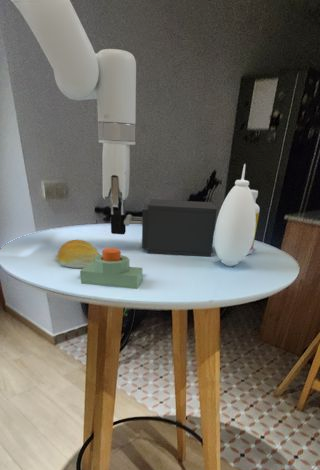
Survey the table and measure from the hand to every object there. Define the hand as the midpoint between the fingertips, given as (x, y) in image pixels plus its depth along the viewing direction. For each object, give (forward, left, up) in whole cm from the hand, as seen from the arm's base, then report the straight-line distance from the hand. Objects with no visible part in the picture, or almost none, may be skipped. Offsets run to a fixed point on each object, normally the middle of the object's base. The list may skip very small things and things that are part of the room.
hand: (118, 233), depth 85 cm
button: (+5, -26, +1) cm, 27 cm away
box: (+5, -26, -3) cm, 27 cm away
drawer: (+10, +1, -2) cm, 11 cm away
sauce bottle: (+26, -8, -3) cm, 28 cm away
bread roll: (-4, -16, -3) cm, 17 cm away
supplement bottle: (+28, +4, -3) cm, 29 cm away
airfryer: (+14, +2, -3) cm, 15 cm away
